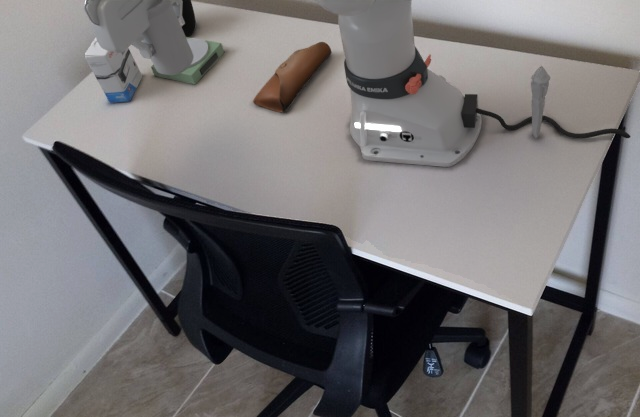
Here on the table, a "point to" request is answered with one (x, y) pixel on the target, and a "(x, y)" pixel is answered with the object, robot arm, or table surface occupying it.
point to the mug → (188, 18)
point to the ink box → (114, 72)
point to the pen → (538, 98)
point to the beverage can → (167, 39)
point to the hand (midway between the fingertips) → (164, 40)
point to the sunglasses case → (292, 77)
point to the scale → (197, 60)
